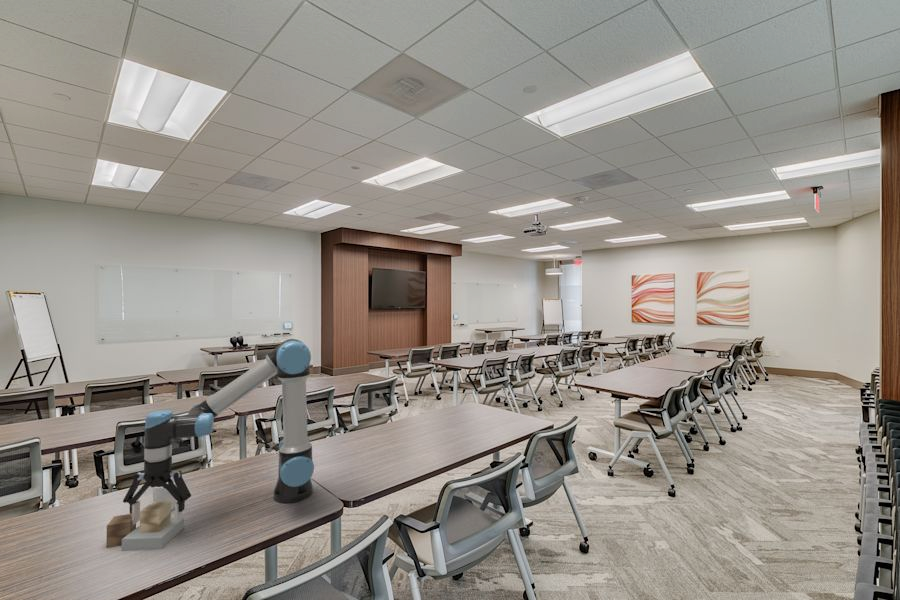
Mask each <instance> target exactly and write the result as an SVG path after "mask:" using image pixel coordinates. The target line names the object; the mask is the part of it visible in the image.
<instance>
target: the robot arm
mask: <svg viewBox="0 0 900 600" xmlns="http://www.w3.org/2000/svg"><path fill="white" fill-rule="evenodd" d="M311 359H312V355H311V351H310V349H309V347H308V346H307V345H306V344H305V343H304V342H302V341H301V340H299V339H295V338H289V339H286V340H284V341H283V342H281V343H280V344H279V345H277V346H276V347H275V348H274V349H273V350H271V351H270V352H269V353H267V354H266V356H265V359H263V360H262V361H260V362H259V363H257V364H256V365H253V367H251V368H249V369H248V370H247V371H245V372H244V373H242V374H241V375H239V376H238V377H237V378H236V379H234V380H232V381H231V382H230V383H228V384H226V385H225V386H224V387H222V388H220V389H219V390H218V391H217V392H215V393H213V394H212V395H210V396H209V397H207V398H206V399H205V400H203V401H202V402H201V403H198V404H196V405H194V406H193V407H191V409H189V411H188V413H187V414H186V415H174V414H173V411H172V410H170V409H169V410H168V409H167V410H164V409H163V410H155V411H151V412H150V413H148V414H147V415H146V416H145V424H144V428H143V429H144V450H143V451H144V454H143V455H144V457H143V460H144V463H143V471H139V472H137V473H136V474H134V476H133V481H132V484H131V485H130V487H129V489H128V490H127V491H126V494H125V496H124V498H123V500H122V502H123V503H124V504H129V514H132V525H134V524H136V525H137V523H139V522H140V511H141V500H139V499H140V498H141V496H142V495H143V494H144V493H145V492H146V491H147V490H148V489H149V488H153V487H163V488H165V489H167V490H168V492H169V493H170V494H171V495H172V496H173V497H174V498H175V499H176V503H175V508H174V518H175V523H178V522H179V521H180V520H181V519H182V518H183V511H184V510H185V508H186V506H185V505H186V504H185V502H186V501H187V500H189V499H190V498H191V497H192V494H191V492H190V490H189V488H188V486H187V484H186V481H185V480H184V478H183V474H182V470H178V471H175V472H172V466H173V456H172V454H173V440H176V439H184V438H195V437H196V438H197V437H203V436H208V435H211V434H212V433H213V431H214V422H215V421H214V419H215V418H217V417H218V416H219V415H220V414H222V413H224V411H226V410H227V409H229V408H230V407H231V406H233V405H234V404H236V403H237V402H238V401H240V400H241V399H243V398H244V397H245V396H248V394H250V393H252V392H253V391H255V390H256V389H257V388H258V387H260V386H261V385H264V384H265V382H267V381H269V380H270V379H271V378H273V377H275V376H276V375H277V379H278V380H279V381H280V382H281V392H282V394H281V397H282V401H281V402H282V429H283V430H282V432H283V438H282V439H281V440H280V441H279V443H278V447H277V448H278V478H277V481H276V484H275V486H274V489H273V497H272V498H273V500H274V501H275V502H278V503H282V504H284V503H285V504H288V503H289V504H291V503H296V502H300V501H303V500H306V499H307V498H309V497H310V496H312V494H313V492H314V485H313V482H312V480H311V478H312V476H313V474H314V470H315V465H314V464H315V463H314V462H313V461H314V460H313V445H312V444H313V443H312V442H310V439H309V438H308V410H307V407H308V406H307V379H308V377H309V376H311V374H310V373H311V372H310V369H311V367H310V366H311V365H310V363H311ZM172 479H174V482H175V484H176V486H177V487H176V486H175V484H174V483H173V480H172ZM142 480H145V482H144V484H143V485H142V486H141V487H140V489H138V488H139V485H140V484H141V482H142ZM167 482H168V484H166V483H167ZM137 490H138V491H137Z"/></svg>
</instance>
